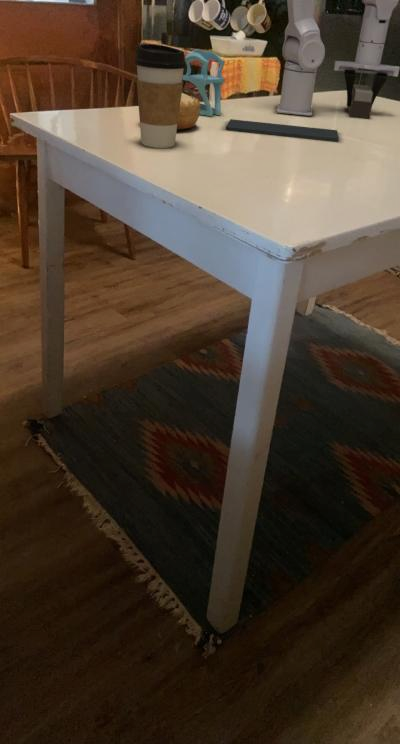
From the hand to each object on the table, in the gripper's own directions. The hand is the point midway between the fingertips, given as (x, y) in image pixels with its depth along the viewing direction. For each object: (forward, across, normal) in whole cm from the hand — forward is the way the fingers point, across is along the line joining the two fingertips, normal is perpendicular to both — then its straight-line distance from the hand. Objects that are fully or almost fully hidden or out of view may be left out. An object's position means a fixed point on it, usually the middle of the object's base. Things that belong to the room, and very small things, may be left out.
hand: (358, 106), depth 144 cm
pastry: (+2, -39, -36) cm, 53 cm away
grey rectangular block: (+1, 0, 0) cm, 1 cm away
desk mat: (+1, -17, -30) cm, 35 cm away
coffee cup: (+2, -38, -51) cm, 64 cm away
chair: (+2, -35, -19) cm, 40 cm away
